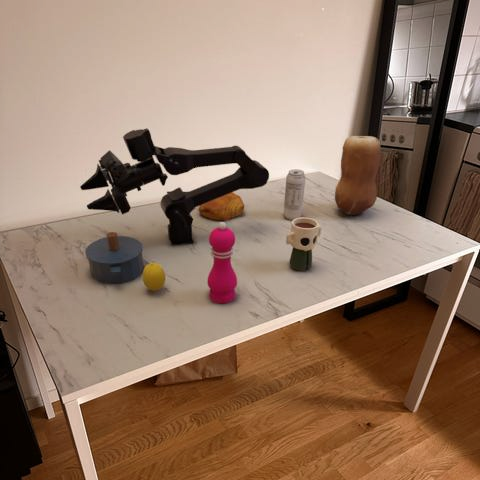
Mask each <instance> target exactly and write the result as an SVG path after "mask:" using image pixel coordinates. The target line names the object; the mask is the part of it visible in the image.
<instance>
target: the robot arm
mask: <svg viewBox="0 0 480 480" xmlns="http://www.w3.org/2000/svg"><path fill="white" fill-rule="evenodd" d="M122 139H123V141H124V144H125V146H126V148H127V150H128V153H129V155H130V157H131V159H132V160H134V161H137V163H134V164H132V165H131V162H125V163H124V162H122V160H120V158H119V157H117V156H116V155H115V154H114V152H112V151H111V150H108V151H107V152H105V153H104V154H103V155H102V156H101V157H100V159H99V160H98V163H97V165H96V170H95V173H94V174H92V175H91V176H90V177H89V178H88V179H87V180H86V181H84V183H82V184H81V185H80V189H81V191H89V190H95V189H103V188H107V190H106V192H105V194H104V195H103V196H101V197H98V198H97V199H95V200H93V201H91V202H90V203H88V204H86V208H87V210H92V211H93V210H95V211H110V212H116V213H117V214H119V213H121V215H125V214H128V213H129V212H130V210H131V209H132V208H131V205H130V202H129V200H128V198H127V197H128V194H127V193H129V192H131V191H133V190H136V191H137V192H140V191H142V187H143V186H146V185H148V184H150V183H152V182H155V181H157V180H159V182H160V185H161V186H163V187H164V186H165V184H166V183H167V179H168V177H169V176H168V174H169V175H170V176H179V175H183V174H186V173H189V172H190V171H192V170H194V169H197V168H203V167H214V166H215V167H216V166H223V165H232V164H234V165H235V164H237V165H238V168H237V169H236V170H235V172H234V173H231V174H229V175H226V176H224V177H221V178H220V179H217V180H215V181H212V182H209V183H207V184H204V185H202V186H199V187H197V188H195V189H192V190H190V191H183V189H182V187H177V188H174V189H173V190H170V191H166V194H165V195H164V194H163V196H162V197H161V200H160V208H161V210H162V212H163V213H164V215H165V217H166V218H167V219H168V224H167V235H168V240H169V241H170V243H171V245H172V246H178V245H179V246H180V245H188V244H194V238H193V222H194V217H193V216H192V215H191V213H192V212H193V211H194V210H195V209H196V208H197V207H199V206H200V205H202V204H205V203H207V202H210V201H212V200H214V199H217V198H219V197H222V196H224V195H227V194H229V193H232V192H233V193H234V192H236V191H239V190H253V189H257V188H263V187H264V186H266V185H267V183H268V181H269V179H270V172H269V170H268V169H267V168H266V167H265V166H264V165H263V164H262V163H261V162H259V161H257V160H255V159H252V158H251V157H250V156H249V155H248V154H247V153H246V151H245V150H244V149H243V148H241V146H239V145H232V146H225V147H215V148H204V149H186V148H183V147H172V146H167V147H165V148H163V147H160V146H156V145H155V144H154V141H153V139H152V134H151V131H150V130H149V128H143V129H141V128H140V129H133V130H130V131H128V132H127V133H125V134H124V135H123V136H122ZM154 157H155V159H156V161H158V162H156V161H155V159H154ZM161 165H162V166H161ZM162 168H163V169H164V170H165V171H166V172H167V173H164V171H163V169H162ZM110 186H111V189H109V188H108V187H110Z"/></svg>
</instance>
